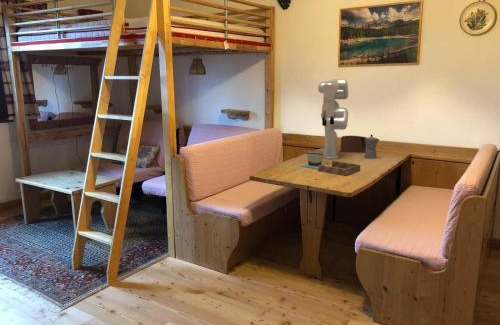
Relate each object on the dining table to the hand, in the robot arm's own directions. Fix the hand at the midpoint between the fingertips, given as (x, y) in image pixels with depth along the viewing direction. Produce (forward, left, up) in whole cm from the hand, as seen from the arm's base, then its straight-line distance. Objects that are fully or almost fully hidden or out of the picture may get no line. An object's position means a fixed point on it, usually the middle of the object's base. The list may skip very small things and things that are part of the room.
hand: (328, 124), depth 292 cm
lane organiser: (+18, -14, -28) cm, 36 cm away
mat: (-1, -14, -28) cm, 32 cm away
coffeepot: (+13, +39, -28) cm, 50 cm away
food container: (-1, -12, -28) cm, 30 cm away
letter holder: (-9, +54, -29) cm, 62 cm away
